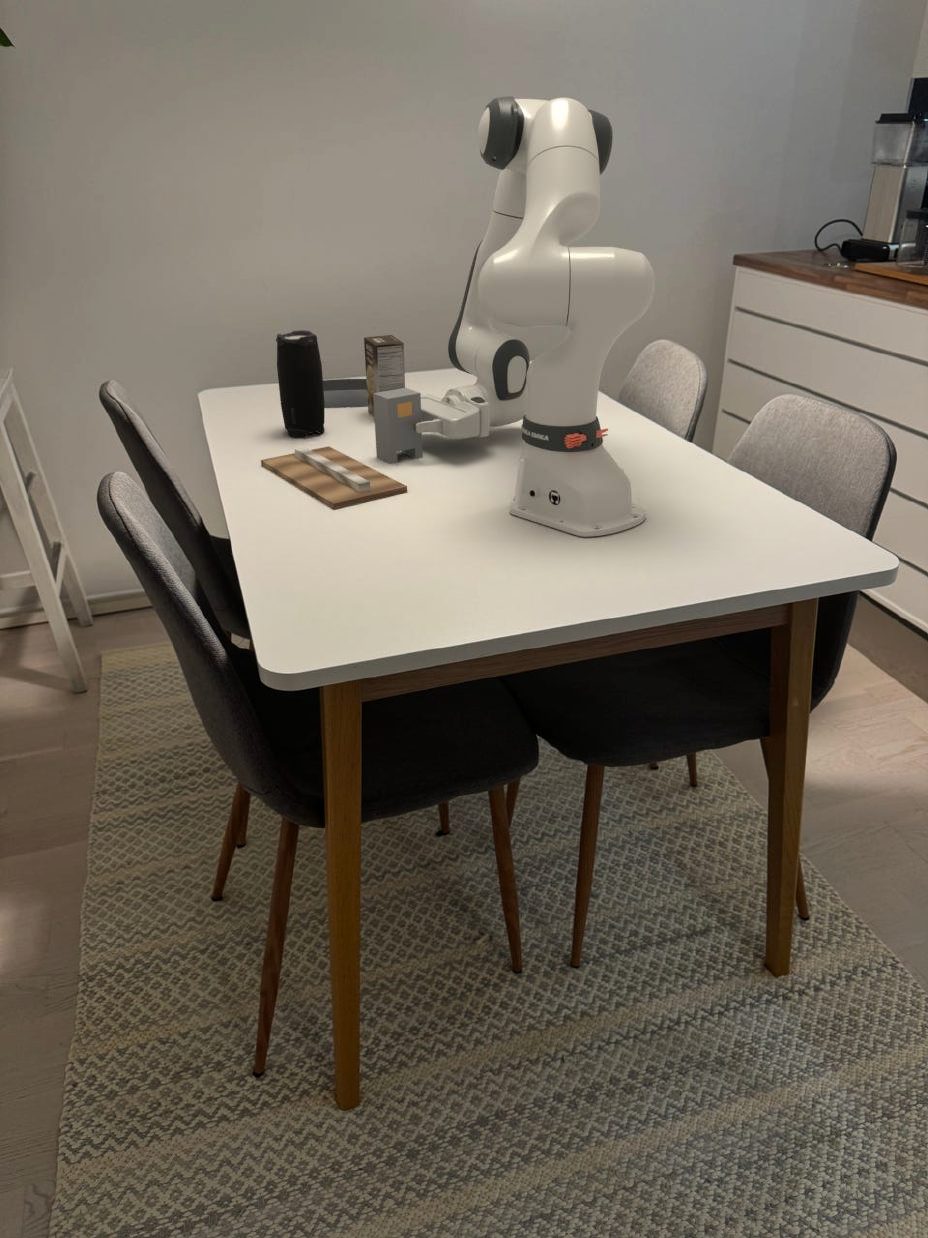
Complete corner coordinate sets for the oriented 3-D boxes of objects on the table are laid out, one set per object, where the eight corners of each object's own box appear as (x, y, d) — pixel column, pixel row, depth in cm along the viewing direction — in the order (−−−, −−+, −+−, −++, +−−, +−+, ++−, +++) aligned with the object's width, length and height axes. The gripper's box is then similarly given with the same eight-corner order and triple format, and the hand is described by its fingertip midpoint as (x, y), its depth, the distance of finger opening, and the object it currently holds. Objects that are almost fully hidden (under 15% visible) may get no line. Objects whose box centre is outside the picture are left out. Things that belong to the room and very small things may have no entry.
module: (422, 456, 172) (420, 392, 167) (390, 463, 169) (387, 398, 163) (408, 450, 176) (405, 387, 170) (376, 457, 172) (373, 393, 167)
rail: (407, 491, 156) (406, 477, 154) (334, 509, 148) (332, 494, 147) (329, 451, 176) (328, 438, 175) (261, 465, 169) (259, 452, 167)
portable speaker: (306, 424, 192) (298, 327, 183) (336, 432, 187) (329, 333, 178) (273, 432, 187) (263, 333, 178) (303, 441, 181) (294, 340, 172)
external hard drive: (391, 408, 205) (390, 390, 203) (303, 411, 204) (301, 392, 202) (389, 393, 217) (388, 376, 215) (306, 396, 215) (305, 378, 213)
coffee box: (366, 412, 201) (362, 336, 193) (394, 409, 203) (391, 334, 195) (379, 422, 193) (375, 344, 186) (408, 419, 195) (405, 342, 188)
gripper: (432, 383, 183) (372, 393, 176) (494, 404, 168) (431, 417, 161) (433, 414, 186) (373, 426, 179) (493, 438, 171) (431, 452, 164)
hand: (401, 422), depth 170 cm, fingers open, 8 cm apart
